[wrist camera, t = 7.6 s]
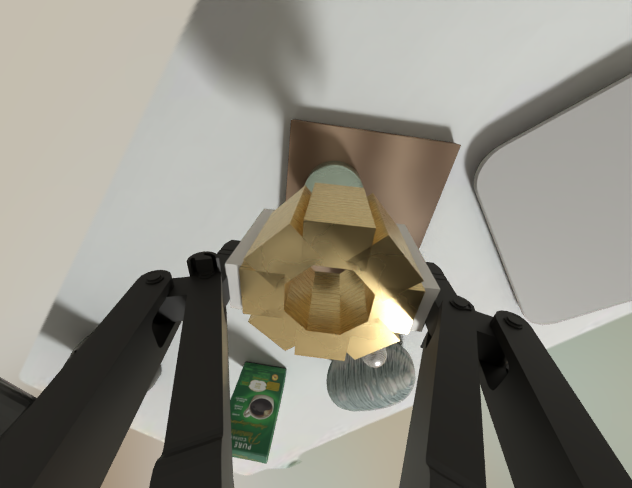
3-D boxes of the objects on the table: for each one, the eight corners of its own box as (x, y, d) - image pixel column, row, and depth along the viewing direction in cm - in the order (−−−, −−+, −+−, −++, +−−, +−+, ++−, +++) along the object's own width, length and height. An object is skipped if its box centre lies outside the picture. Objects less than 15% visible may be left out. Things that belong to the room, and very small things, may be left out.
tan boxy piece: (269, 287, 17) (246, 348, 13) (267, 177, 13) (233, 211, 9) (380, 301, 17) (393, 367, 13) (412, 193, 13) (448, 236, 9)
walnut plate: (280, 298, 36) (278, 306, 35) (293, 119, 24) (290, 120, 23) (387, 314, 36) (389, 322, 35) (454, 142, 24) (460, 144, 23)
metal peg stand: (302, 211, 27) (283, 271, 17) (308, 156, 24) (288, 191, 14) (355, 219, 27) (365, 283, 17) (368, 165, 24) (388, 206, 14)
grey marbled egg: (340, 399, 42) (343, 446, 32) (317, 349, 43) (314, 380, 33) (412, 369, 42) (438, 407, 32) (389, 318, 42) (407, 340, 32)
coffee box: (243, 369, 46) (212, 456, 35) (243, 360, 44) (211, 448, 33) (285, 376, 46) (268, 465, 35) (287, 367, 44) (269, 457, 33)
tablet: (519, 317, 35) (530, 330, 33) (457, 161, 25) (467, 166, 23) (668, 270, 29) (692, 282, 27) (663, 46, 20) (699, 39, 18)
